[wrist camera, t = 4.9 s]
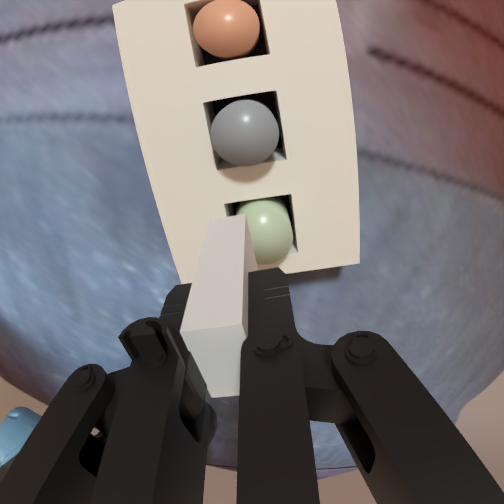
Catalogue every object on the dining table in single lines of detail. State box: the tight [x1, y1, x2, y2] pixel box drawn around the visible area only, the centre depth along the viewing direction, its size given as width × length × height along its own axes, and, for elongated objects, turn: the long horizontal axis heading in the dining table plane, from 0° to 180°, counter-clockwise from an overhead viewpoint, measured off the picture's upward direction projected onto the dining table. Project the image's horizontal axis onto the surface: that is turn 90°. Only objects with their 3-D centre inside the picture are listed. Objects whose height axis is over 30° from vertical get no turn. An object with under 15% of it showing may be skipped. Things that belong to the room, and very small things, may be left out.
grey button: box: [211, 98, 279, 167], centre depth 20 cm, size 4×4×4 cm
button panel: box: [112, 0, 360, 284], centre depth 21 cm, size 22×14×4 cm, turn 9°
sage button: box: [236, 196, 293, 265], centre depth 23 cm, size 4×4×4 cm
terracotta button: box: [193, 0, 260, 61], centre depth 17 cm, size 4×4×4 cm
